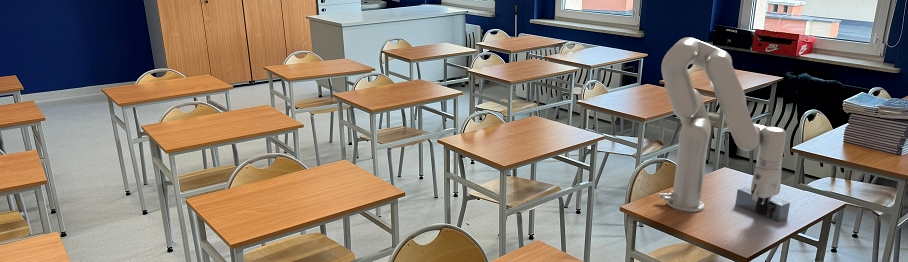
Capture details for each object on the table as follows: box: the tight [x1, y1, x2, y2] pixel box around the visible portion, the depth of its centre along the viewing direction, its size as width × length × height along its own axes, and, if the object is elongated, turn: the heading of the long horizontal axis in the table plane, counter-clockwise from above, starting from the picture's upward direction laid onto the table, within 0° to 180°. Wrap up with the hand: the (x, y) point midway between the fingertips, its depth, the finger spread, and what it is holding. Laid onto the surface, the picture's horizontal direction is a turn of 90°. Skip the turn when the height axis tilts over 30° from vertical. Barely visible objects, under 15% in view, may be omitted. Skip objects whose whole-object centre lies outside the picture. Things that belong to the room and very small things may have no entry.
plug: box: [757, 197, 788, 220], centre depth 227 cm, size 11×4×4 cm, turn 122°
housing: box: [734, 186, 791, 223], centre depth 228 cm, size 5×17×6 cm, turn 30°
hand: (760, 213), depth 223 cm, fingers closed
